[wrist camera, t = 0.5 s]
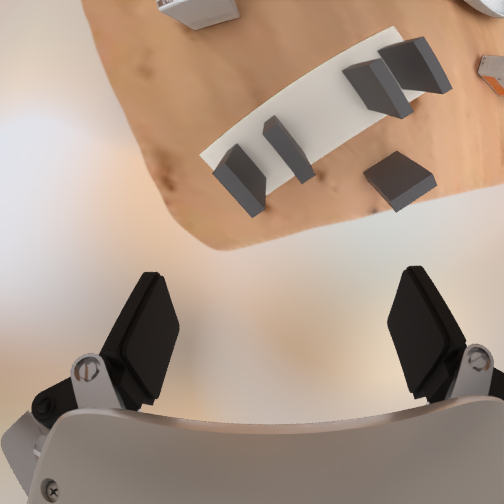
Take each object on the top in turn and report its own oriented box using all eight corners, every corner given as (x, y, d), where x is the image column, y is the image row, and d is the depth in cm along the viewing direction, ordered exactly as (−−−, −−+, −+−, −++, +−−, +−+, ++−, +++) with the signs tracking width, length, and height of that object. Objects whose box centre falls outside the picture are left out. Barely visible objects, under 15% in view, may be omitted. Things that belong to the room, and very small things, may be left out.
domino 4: (351, 65, 26) (381, 57, 17) (377, 103, 28) (413, 111, 20) (341, 70, 26) (368, 64, 18) (368, 109, 29) (401, 119, 20)
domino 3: (385, 46, 24) (423, 36, 15) (410, 84, 26) (452, 88, 18) (376, 50, 24) (413, 41, 16) (401, 89, 26) (442, 94, 18)
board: (391, 26, 22) (393, 25, 21) (430, 88, 26) (432, 88, 25) (200, 153, 34) (199, 154, 34) (248, 207, 38) (247, 208, 38)
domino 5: (363, 172, 34) (390, 201, 26) (396, 150, 32) (432, 173, 24) (368, 181, 35) (396, 212, 27) (401, 160, 33) (437, 185, 24)
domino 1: (236, 143, 33) (224, 163, 24) (266, 177, 35) (265, 209, 27) (227, 150, 33) (212, 173, 25) (256, 184, 36) (252, 218, 27)
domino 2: (274, 114, 30) (276, 123, 22) (303, 151, 33) (315, 174, 25) (264, 122, 31) (262, 134, 23) (293, 158, 33) (301, 184, 25)
